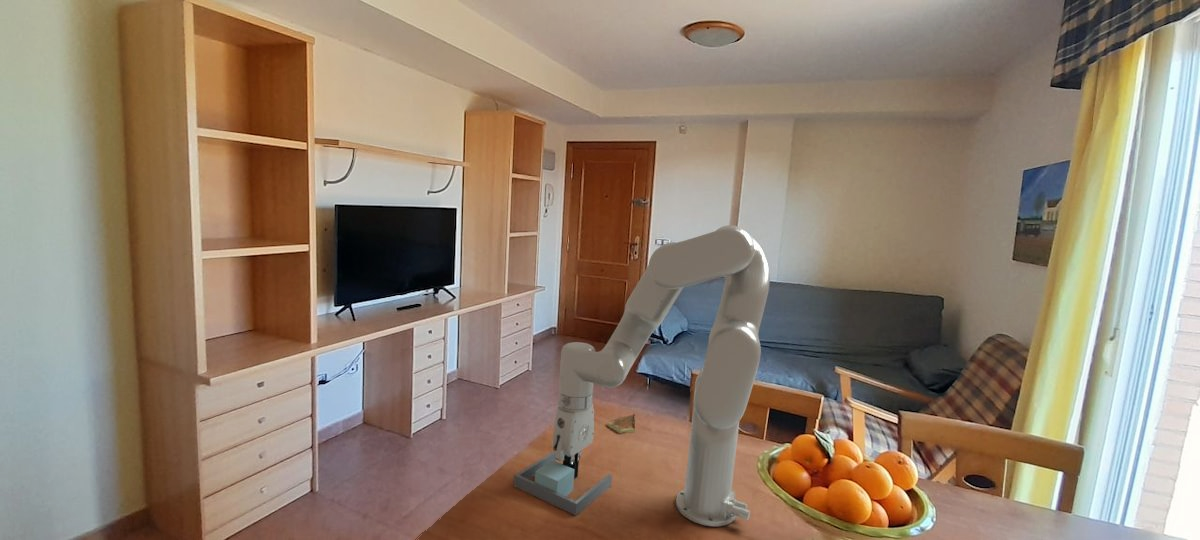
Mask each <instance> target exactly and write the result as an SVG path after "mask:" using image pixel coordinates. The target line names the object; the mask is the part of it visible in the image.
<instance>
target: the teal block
mask: <svg viewBox="0 0 1200 540" xmlns="http://www.w3.org/2000/svg"><path fill="white" fill-rule="evenodd" d="M574 470H575V469H573V468H570V467H568V466H565V465H563V463H560V462H559V461H556V460H555V461H554V460H552V461H550V462H549V463H547V464H546V465H544V466H543V467H541V468H540V469H538V470H537V471H535V476H534V482H536V483H538V484H540V485H542V486H544V487H547V488H549V489H551V490H553V491H555V492H557V493H560V494H562V495H564V496H566V497H568V495H570V493H572V492H573V491H574V485H575V484H574V482H575V481H574V480H575V479H574Z"/></svg>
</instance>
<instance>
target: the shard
mask: <svg viewBox="0 0 1200 540" xmlns="http://www.w3.org/2000/svg"><path fill="white" fill-rule="evenodd" d="M635 415H636V414H635V413H633V414H630V415H628V416H627V415H626V416H622V417H619V418H615V419H613V420H609V421H608V422H607V423H606V427H608V426H609V427H608V428H610V429H612V430H614V431H615V432H617V433H618V434H622V433H623V434H624V433H625V434H626V433H635V432H636V419H635V418H636V416H635Z"/></svg>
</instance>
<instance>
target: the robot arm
mask: <svg viewBox="0 0 1200 540" xmlns="http://www.w3.org/2000/svg"><path fill="white" fill-rule="evenodd" d="M770 277H771V276H770V268H769V263H768V260H767V257H766V255H765V252H764V250H763V248H762V247H761V246H760V244H759V243H758V242H757V241H756V240H755V238H754V237H752V236H751V234H750V233H748V232H747V231H746V230H745V229H744V228H742V227H740V226H737V225H734V224H733V225H732V224H731V225H730V224H729V225H723V226H721V227H719V228H718V229H716V230H715V231H714V230H713V231H711V232H708V233H706V234H705V233H704V234H701V235H698V236H695V237H692V238H689V239H688V238H687V239H685V240H682V241H678V242H674V241H673V242H672V241H671V242H667V243H664V244H662V245H660V246H659V247H658V248H656V249H655V251H653V252H652V254H651V256H650V258H649V261H648V265H647V266H646V268H645V270H644V271H643V274H642V276H641V277H640V279H639V280H638V282H637V284H636V286H635V287H634V288H633V290H632V292H631V294H630V296H629V297H628V298H627V301H626V303H625V307H624V312H623V314H622V316H621V319H620V321H619V322H618V325H617V326H616V328H615V329H614V331H613V333H612V334H611V336H610V338H609V339H608V341H607V342H606V344H605V346H604V347H603V348H602V349H601V350H600V351H596V349H595V347H594V346H593V345H591V344H590V343H586V342H580V341H578V342H577V341H575V342H573V341H572V342H568V343H565V344H564V345H563V346H562V347H561V352H560V364H559V366H560V367H559V383H558V396H557V397H558V398H557V408H556V413H555V419H554V426H553V432H552V449H553V451H554V452H556V455H555V461H556V460H557V462H562V464H563V465H565V466H568V467H570V468H573V469H575V470H574V480H576V478H578V477H579V476H578V475H579V465H580V463H579V460H580V459H581V457H582V452H583V451H582V450H584V449H586V448H587V447H589V446H590V445H591V444H592V443H593V441H594V435H595V434H594V433H595V409H594V402H593V392H594V384H595V385H598V386H599V387H603V388H609V389H612V388H616V387H619V386H620V385H621V384H623V382H624V381H625V380H626V378H627V375H628V374H629V372H630V370H631V368H632V367H633V365H634V363H635V362H636V361H637V359H638V357H639V354H640V353H641V351H642V350H643V348H644V347H645V345H646V344H647V341H649V338H650V337H651V335H652V334H653V333H654V332H655V331H656V329H658V328H659V327H660V325H661V324H662V323H663V321H664V320H665V318H666V317H667V315H668V314H669V312H670V310H671V308H672V306H673V305H674V303H675V302H676V300H677V299H678V297H679V295H680V294H681V292H682V291H683V289H684V288H685V287H690V286H693V285H698V284H701V283H705V282H708V281H712V280H716V279H720V278H725V282H724V284H723V285H724V286H723V290H722V292H721V299H720V303H719V305H718V306H719V307H718V310H717V313H716V316H715V320H714V322H713V326H712V327H711V329H710V332H709V336H708V343H707V348H706V349H707V350H706V353H705V357H704V361H703V365H702V369H700V371H699V372H698V374H697V375H696V378H695V383H694V393H693V407H692V417H691V425H690V426H691V428H690V435H689V447H688V452H687V453H688V455H687V465H686V472H685V473H686V474H685V475H686V476H685V484H684V488H683V489H682V490H680V491H679V492H678V493H677V495H676V499H675V506H676V508H677V510H678V511H679V512H680V514H681V515H682V516H683V517H684V518H686V519H688V520H690V521H692V523H696V524H699V525H702V526H708V527H722V526H726V525H727V526H728V525H729V524H732V523H733V522H734V521H735V519H736V518H737V517H738V518H740V519H742V520H745V521H748V522H749V519H750V515H751V510H749V509H748V503H745V502H743V501H739V500H737V498H735V496H736V491H735V490H734V489H732V488H733V487H732V486H733V478H734V471H735V462H736V456H737V454H736V453H737V445H738V438H739V437H738V436H739V428H740V420H741V419H742V417H743V416H744V414H745V411H746V410H747V406H748V403H749V400H750V396H751V394H752V390H753V387H754V382H755V379H756V377H757V373H758V369H759V366H760V360H761V354H762V347H761V342H760V338H759V332H760V327H761V324H762V323H761V322H762V321H763V320H762V319H763V317H764V316H763V315H764V312H765V308H766V303H767V300H768V299H767V298H768V296H769V295H768V294H769V290H770V284H771V283H770V282H771V281H770V280H771V278H770Z"/></svg>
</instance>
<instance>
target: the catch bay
mask: <svg viewBox="0 0 1200 540" xmlns="http://www.w3.org/2000/svg"><path fill="white" fill-rule="evenodd" d="M555 455H556V451H554V450H553V451H551V452H550V453H548V454H546V455H545V456H543V457H541V458H540V459H539V460H537V461H535V462H533V463H532V464H530V465H529V466H527V467H526V468H524V469H522V470H521V471H519V472H517V473H516V474H514V477H513V487H515V488H517V489H519V490H522V491H523V492H526V493H527V494H530V495H532V496H534V497H536V498H537V499H539V500H540V499H541V500H542V501H545V502H546V503H548V504H550V505H553V506H555V507H557V508H559V509H561V510H562V511H565V512H568V513H569V514H571V515H574V516H577V515H579V514H580V513H581V512H582V511H583V510H584V509H586V508H587V507H588V506H589V505H590V504H592V502H594V501H595V500H596V499H597V498H599V496H601V495H602V494H603V493H605V492H606V491H607V490H608V489H609V488H610V487H611V486H612V479H613V475H612V474H610V473H609V474H607V475H606V476H605V477H604V478H602V479H601V480H600V481H598V483H595V485H593V486H592V487H591V488H590V489H589V490H587V491H586V492H585V493H583V494H582V495H581V496H580V497H578V498H577V499H576V500H574V499H573V498H570V497H569V496H564V495H562V494H560V493H557V492H555V491H553V490H551V489H549V488H547V487H544V486H542V485H540V484H538V483H536V482H535V480H534V481H533V480H531V478H534V477H535V471H537V470H538V469H540V468H541V467H543V466H544V465H546V464H547V463H549V462H550V461H552V460H554V461H556V459H555Z"/></svg>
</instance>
